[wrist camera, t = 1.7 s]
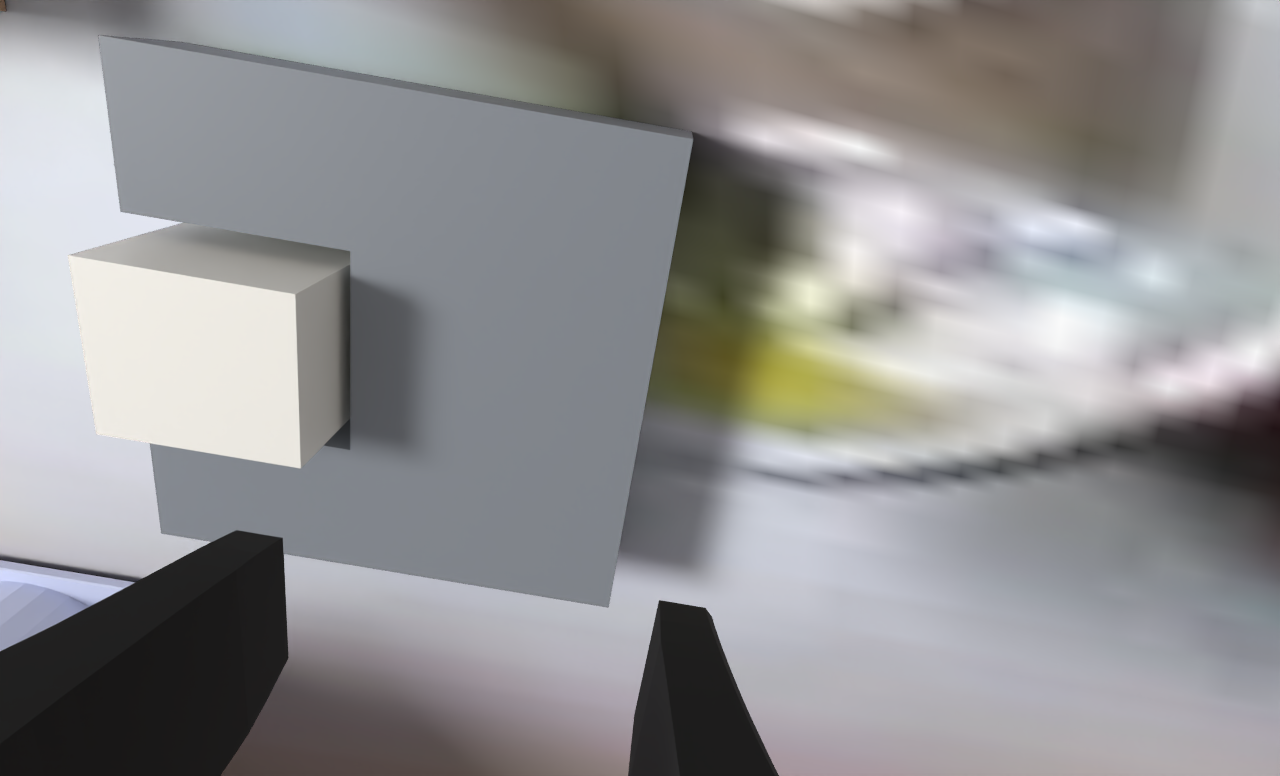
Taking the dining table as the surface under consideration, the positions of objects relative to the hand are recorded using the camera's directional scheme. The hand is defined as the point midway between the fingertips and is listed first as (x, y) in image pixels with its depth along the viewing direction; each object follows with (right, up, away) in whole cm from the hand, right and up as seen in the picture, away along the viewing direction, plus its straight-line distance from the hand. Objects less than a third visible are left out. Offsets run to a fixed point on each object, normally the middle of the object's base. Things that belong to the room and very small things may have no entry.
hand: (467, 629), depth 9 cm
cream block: (-7, +5, +10) cm, 13 cm away
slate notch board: (-3, +5, +10) cm, 11 cm away
